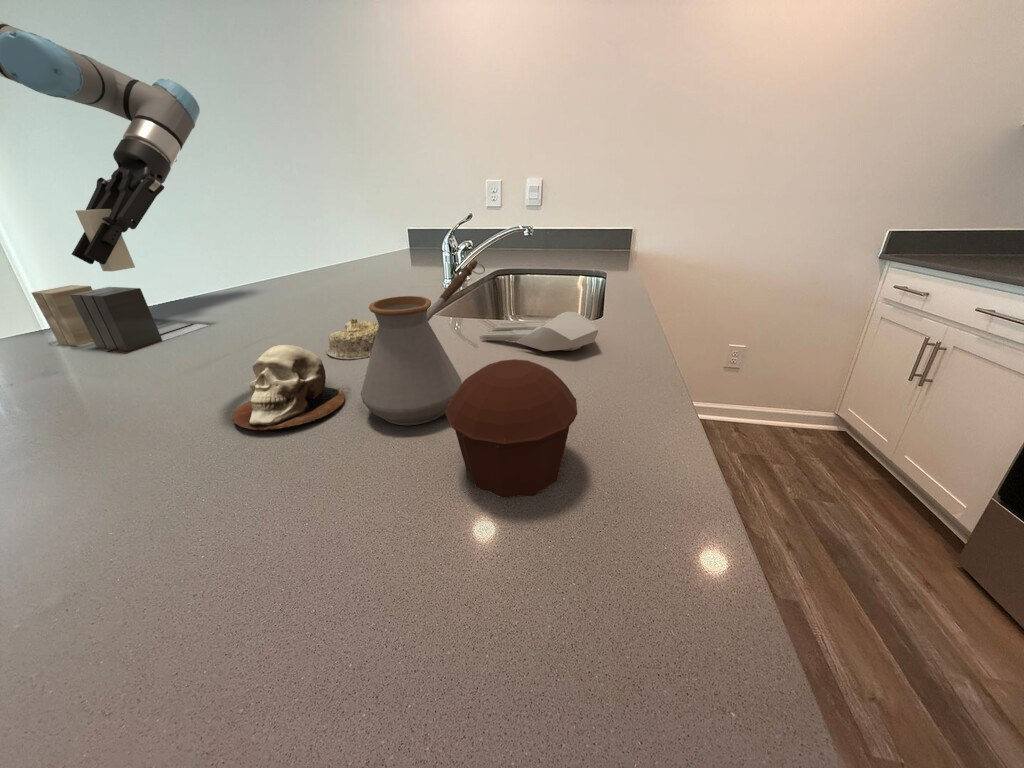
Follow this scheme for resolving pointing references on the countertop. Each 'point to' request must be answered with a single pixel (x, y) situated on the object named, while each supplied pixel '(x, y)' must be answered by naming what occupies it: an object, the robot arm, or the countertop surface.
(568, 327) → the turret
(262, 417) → the skull
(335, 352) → the cake
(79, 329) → the tan wooden block
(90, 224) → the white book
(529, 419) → the muffin
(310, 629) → the countertop surface
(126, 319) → the grey stand
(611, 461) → the countertop surface
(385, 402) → the coffee pot
